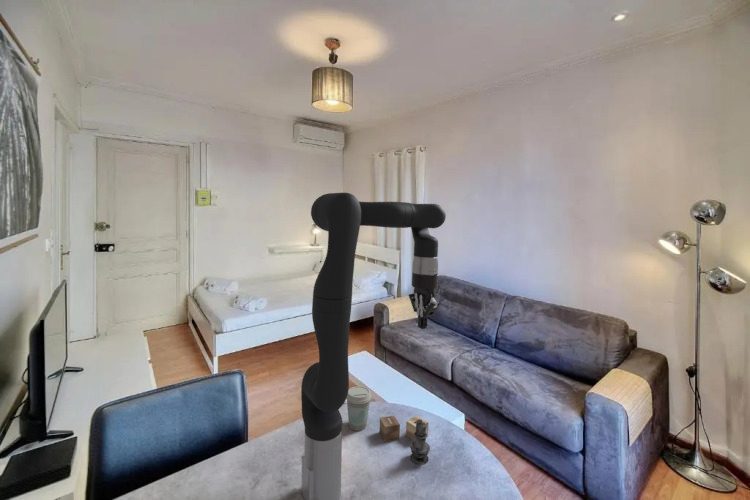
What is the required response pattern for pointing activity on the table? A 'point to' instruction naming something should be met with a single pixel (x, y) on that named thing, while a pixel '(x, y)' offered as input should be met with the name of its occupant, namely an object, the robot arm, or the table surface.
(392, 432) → the walnut block digit
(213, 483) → the table surface
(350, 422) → the coffee cup
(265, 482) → the table surface
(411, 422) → the beech block digit
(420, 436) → the black chess piece
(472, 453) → the table surface
